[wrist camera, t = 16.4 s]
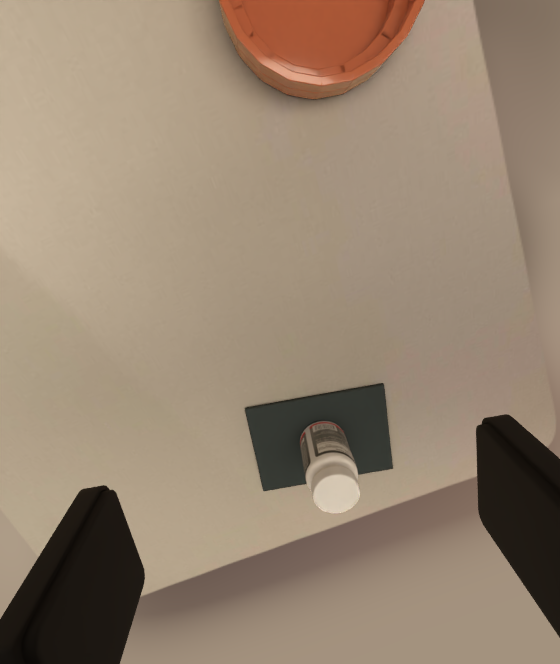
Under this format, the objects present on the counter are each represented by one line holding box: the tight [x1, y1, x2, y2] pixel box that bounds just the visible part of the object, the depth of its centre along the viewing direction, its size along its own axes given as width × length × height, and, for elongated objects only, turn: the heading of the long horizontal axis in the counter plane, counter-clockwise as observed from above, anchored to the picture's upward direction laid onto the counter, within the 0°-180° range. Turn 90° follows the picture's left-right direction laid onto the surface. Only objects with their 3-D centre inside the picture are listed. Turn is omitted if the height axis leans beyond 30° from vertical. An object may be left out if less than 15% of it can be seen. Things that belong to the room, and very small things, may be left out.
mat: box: [245, 383, 393, 491], centre depth 42 cm, size 14×10×1 cm
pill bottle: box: [300, 421, 360, 514], centre depth 38 cm, size 5×5×8 cm
